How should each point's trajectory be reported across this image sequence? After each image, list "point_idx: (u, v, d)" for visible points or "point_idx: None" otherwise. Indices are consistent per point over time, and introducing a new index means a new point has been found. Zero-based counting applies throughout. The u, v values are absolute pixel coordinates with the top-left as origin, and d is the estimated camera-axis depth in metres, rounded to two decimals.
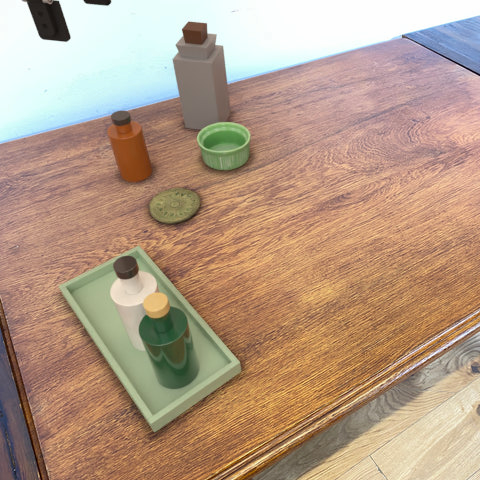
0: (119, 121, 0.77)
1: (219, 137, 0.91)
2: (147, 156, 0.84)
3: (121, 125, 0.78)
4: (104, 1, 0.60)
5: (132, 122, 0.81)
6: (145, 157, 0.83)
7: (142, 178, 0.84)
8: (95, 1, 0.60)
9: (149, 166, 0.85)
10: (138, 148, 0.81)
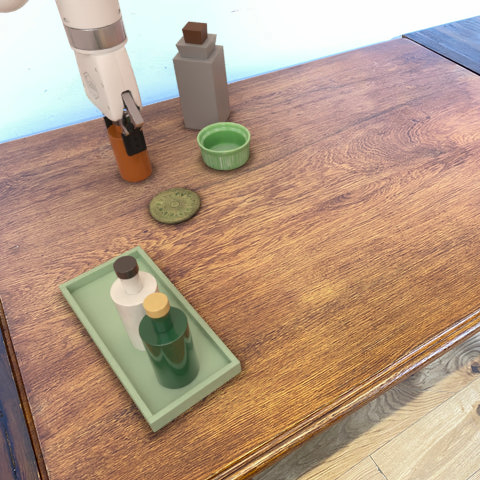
0: None
1: (219, 137, 0.91)
2: (147, 156, 0.84)
3: None
4: None
5: None
6: (145, 157, 0.83)
7: (142, 178, 0.84)
8: None
9: (149, 166, 0.85)
10: None
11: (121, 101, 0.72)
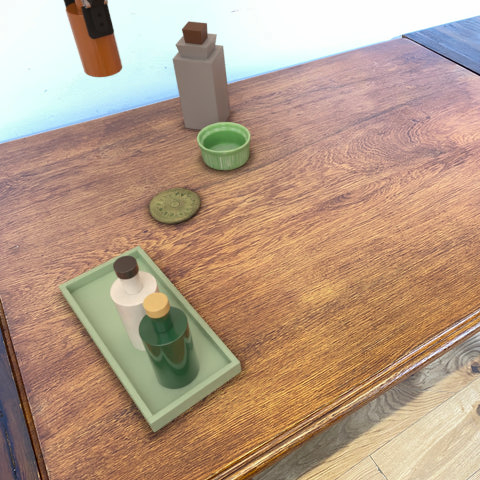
0: None
1: (219, 137, 0.91)
2: (115, 46, 0.70)
3: None
4: None
5: None
6: (113, 46, 0.70)
7: (109, 73, 0.71)
8: None
9: (118, 60, 0.71)
10: None
11: None
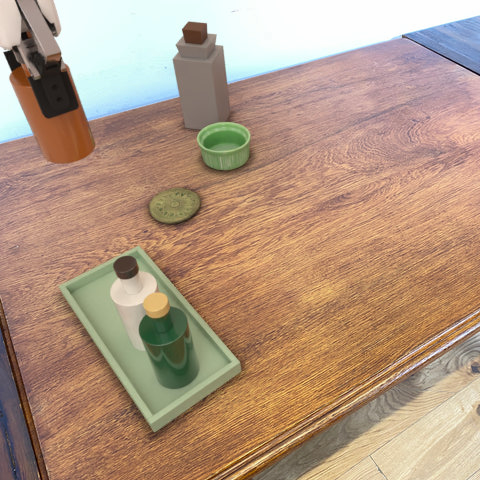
0: None
1: (219, 137, 0.91)
2: (83, 121, 0.51)
3: None
4: None
5: None
6: (80, 123, 0.50)
7: (76, 158, 0.52)
8: None
9: (88, 138, 0.52)
10: None
11: (15, 9, 0.39)
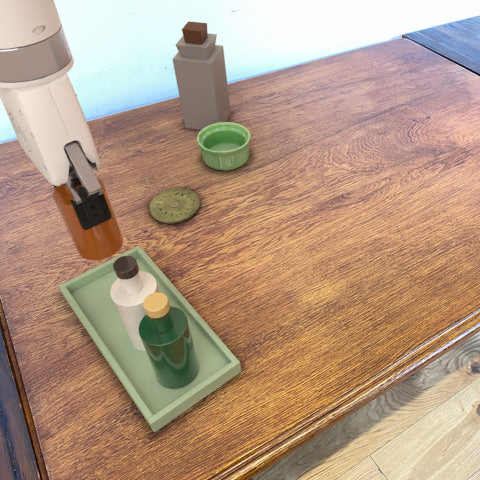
0: None
1: (219, 137, 0.91)
2: (114, 224, 0.59)
3: None
4: None
5: None
6: (111, 227, 0.58)
7: (107, 255, 0.59)
8: None
9: (118, 237, 0.60)
10: None
11: (65, 158, 0.46)
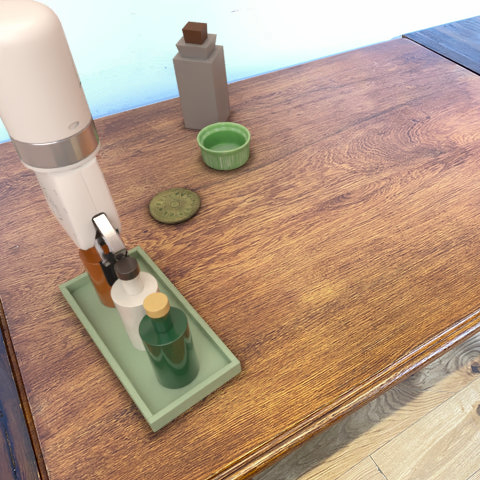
0: None
1: (219, 137, 0.91)
2: None
3: None
4: None
5: None
6: None
7: None
8: None
9: None
10: None
11: (92, 227, 0.53)
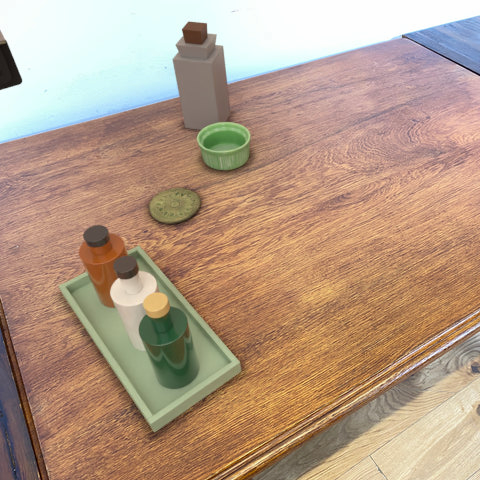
0: (94, 242, 0.59)
1: (219, 137, 0.91)
2: None
3: (97, 247, 0.59)
4: None
5: (112, 236, 0.63)
6: None
7: None
8: None
9: None
10: None
11: None
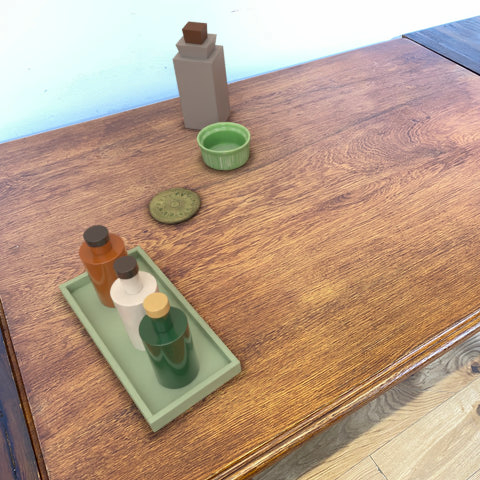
0: (94, 242, 0.59)
1: (219, 137, 0.91)
2: None
3: (97, 247, 0.59)
4: None
5: (112, 236, 0.63)
6: None
7: None
8: None
9: None
10: None
11: None
